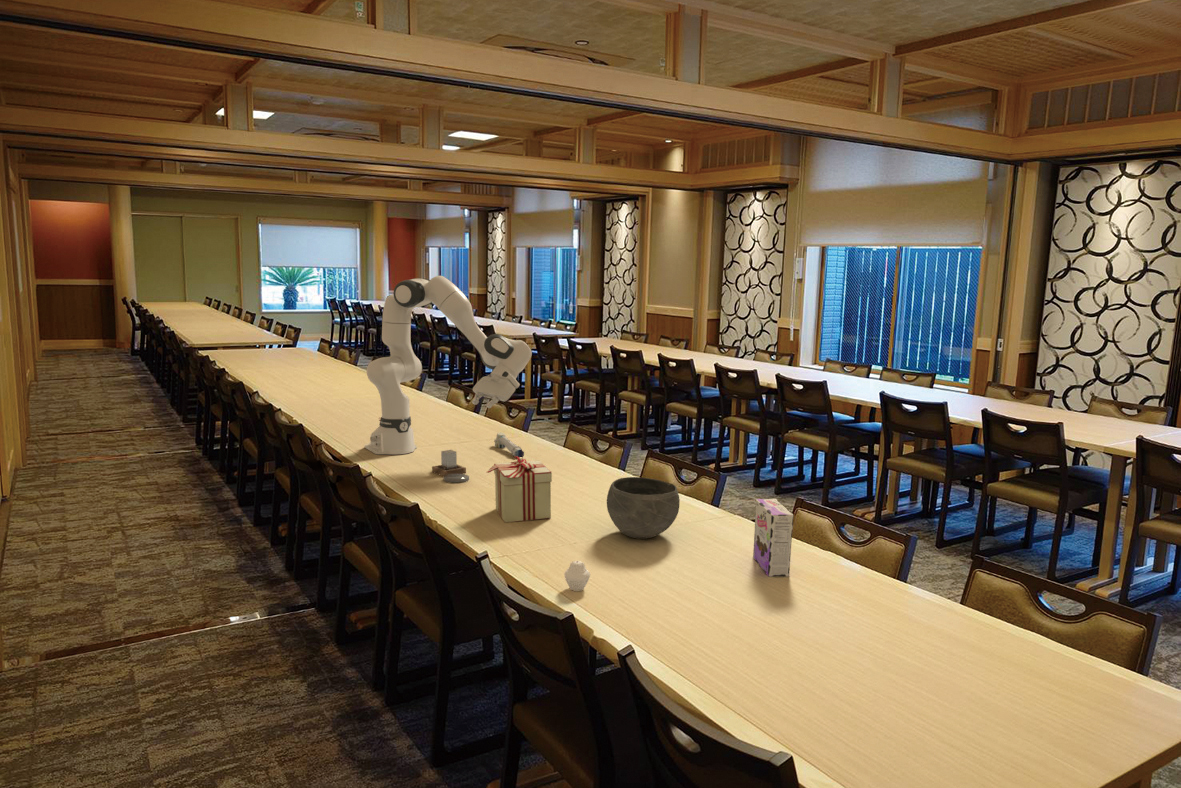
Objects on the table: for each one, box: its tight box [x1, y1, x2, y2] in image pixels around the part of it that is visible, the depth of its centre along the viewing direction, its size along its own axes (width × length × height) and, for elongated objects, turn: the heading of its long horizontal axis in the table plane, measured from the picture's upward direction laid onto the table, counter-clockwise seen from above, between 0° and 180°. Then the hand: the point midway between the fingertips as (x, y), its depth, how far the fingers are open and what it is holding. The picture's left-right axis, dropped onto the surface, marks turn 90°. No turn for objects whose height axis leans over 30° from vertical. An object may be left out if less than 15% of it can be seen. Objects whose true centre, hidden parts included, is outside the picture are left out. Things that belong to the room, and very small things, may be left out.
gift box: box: [486, 456, 553, 523], centre depth 246 cm, size 17×18×17 cm
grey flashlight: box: [493, 432, 525, 458], centre depth 330 cm, size 5×7×25 cm
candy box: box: [752, 498, 794, 578], centre depth 207 cm, size 14×6×16 cm, turn 5°
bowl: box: [606, 476, 680, 540], centre depth 229 cm, size 21×21×15 cm
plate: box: [443, 473, 470, 484], centre depth 286 cm, size 9×9×1 cm
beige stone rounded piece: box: [564, 560, 591, 592], centre depth 191 cm, size 6×6×7 cm
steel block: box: [440, 449, 458, 470], centre depth 295 cm, size 4×4×8 cm
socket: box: [431, 464, 467, 477], centre depth 295 cm, size 9×9×2 cm
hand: (480, 405), depth 300 cm, fingers open, 8 cm apart
